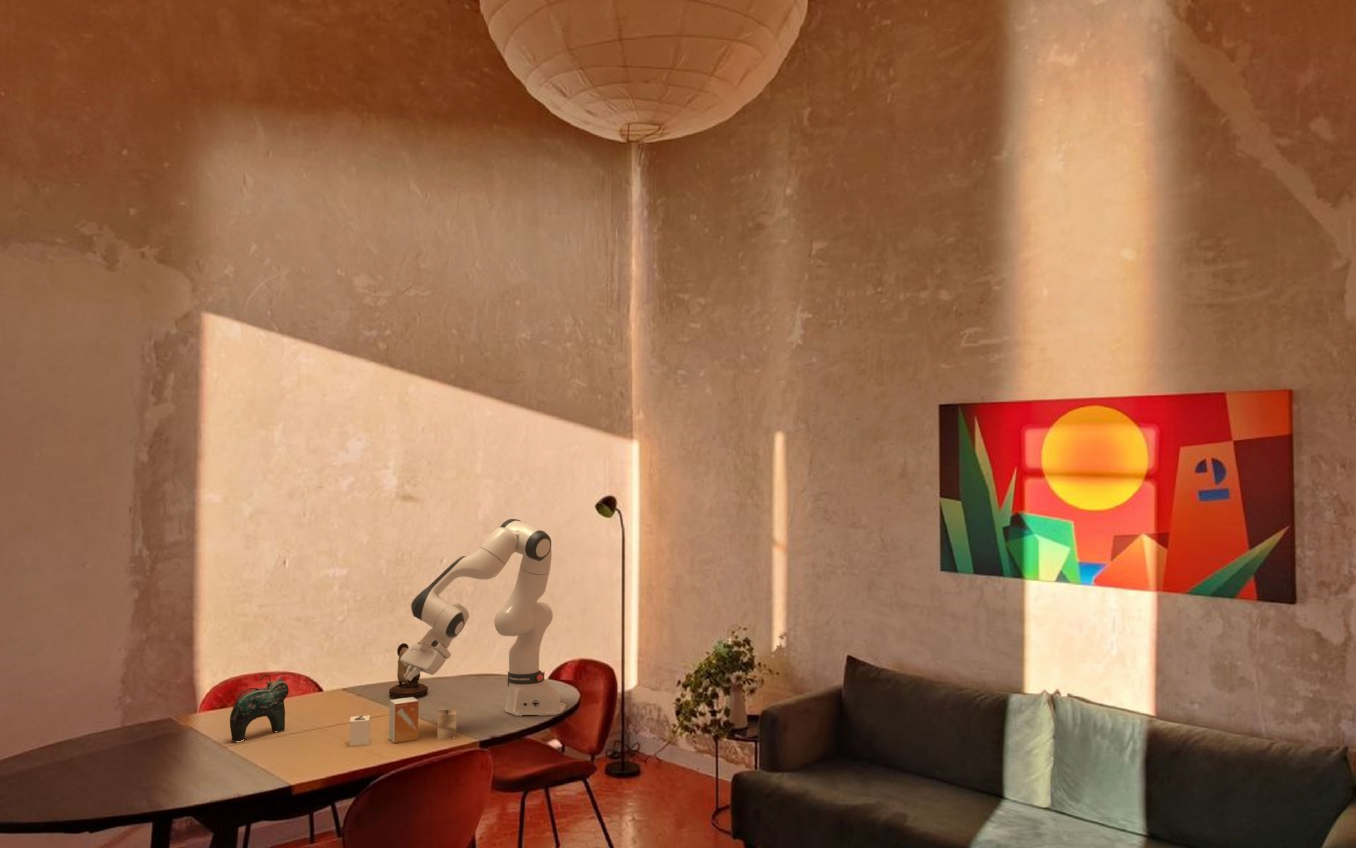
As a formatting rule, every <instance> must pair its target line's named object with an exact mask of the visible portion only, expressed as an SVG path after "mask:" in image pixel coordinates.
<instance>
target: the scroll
mask: <svg viewBox="0 0 1356 848" xmlns="http://www.w3.org/2000/svg"><path fill="white" fill-rule="evenodd" d="M409 648H410V647H409V644H407V643H406V642H402V643H400V644H399V645H398V647H397V650H396V651H397V652H396V653H397V656H398V660H397V672H396V673H397V675H396V676H397V680H398V683H399V684H396V685H393V686H391V688H389V690H388V694H389V696H390V697H392V696H395V697H404V698H409V697H414V696H419V695H423V694H424V695H427V694H428V691H429V687H428V686H427V685H425V684H423V683H419V681H420V678H421V672H420V673H419V674H418V675H416V676H415V677H413V679H412V680H411V681H409V680H407V679H405V678H404V675H405V674H406V672H407V669H408V666H405V665H404V664H403V663H402V662H401V661H400V659H401V656H402V655H403V654H404V653H405V652H406V651H407V650H408V649H409Z"/></svg>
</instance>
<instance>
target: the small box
mask: <svg viewBox="0 0 1356 848" xmlns="http://www.w3.org/2000/svg"><path fill="white" fill-rule="evenodd" d="M419 707H420V706H419V700H418V699H417V698H415V697H414V696H408V698H405V697H401V698H395V699H390V700H389V713H388V714H389V717H388V718H389V720H388V721H389V722H388V725H389V727H388V728H389V730H388V731H389V732H388V735H389V737H388V739H389V741H391V742H392V743H394V744H398V743H403V742H411V741H417V740H419Z"/></svg>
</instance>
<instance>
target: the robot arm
mask: <svg viewBox="0 0 1356 848" xmlns="http://www.w3.org/2000/svg"><path fill="white" fill-rule="evenodd" d="M515 553H517V554H520V555H522V558H521V559H520V560H521V562H520V565H519V569H518V574H517V578H516V582H515V585H514V587H513V591H512V592H511V595H510V597H509V598H508V600H507V601H506V603H505V604H504V605H503V607H502V608H501V609H500V610H499V611H497V613H496V614H495V617H494V619H493V621H494V623H493V624H494V627H495V630H496V631H497V633H498V634H500V636H503V637H516V640H515V641H514V643H513V645H512V646H511V647H510V649H509V652H508V671H507V682H506V683H507V688H508V689H507V698H506V701H505V707H504V712H506V713H509V714H511V715H513V716H514V715H515V716H514V717H523V716H522V715H538V716H557V715H559V714H562V713H563V712H564V711H565V710H566V708H567V707H566V704H565V703H564V702H561V699H560V694H559V692H558V690H557V689H556V688H555V687H553V686H552V685H551V684H549V683H548V682H546V681H545V675H546V674H545V671H541V670H540V650H541V645H542V641H543V638H544V635H545V633H546V630H547V629H548V627H549V626H550V625H551V623H552V622H553V619H554V618H553V617H554V615H553V610H552V607H551V606H550V605H549V604H548V603H547V602H543V601H539V599H541V597H542V596H543V595H544V594H545V592H546V589H547V585H548V580H549V575H550V570H551V566H552V565H551V564H552V539H551V537H550V535H549V534H548V533H546V532H545V531H544V530H541V529H539V528H538V527H536V526H535V525H533V524H531V523H526V522H523V521H522V520H520V519H516V518H509V519H507V520H505V521H504V522H502V524H501V525H500V526H499V527H498V528H496V529H494V531H492V532H491V533H490V534H489V535H488V536H487V537H486V538H485V539H484V541H483V542H482V543H481V544H480V546H479V547H478V548H477V550H475V551H474V552H473V553H471V554H470V555H467V556H464V555H463V556H459V558H457V559H456V560H455V561H454V562H452V563H451V564H450V565H449V566H447V568H446V569H445V570H444V571H443V572H442V573H441V574H440V575H439V576H438V577H437V578H436V579H434V581H432V582H431V583H430V584H429V585H428V586H427V587H426V588H425V589H423V590H422V591H421V592H420V593H418V594H416V596H415V597H414V599H412V602H411V604H410V606H411V607H410V608H411V614H412V616H413V617H414V618H416V619H418V620H420V621H421V622H424V623H425V624H427V625H428V626H430V627H431V629H429V630H428V631H427V633H426V634H424V636H423V638H422V639H420V641H419V642H416V643H413V644H412V645H411V646H410V647H409V649H408V650H407V651H406V652H405V653H404V654H403V655H402V656H401V659H400V661H401V662H402V663H403V664H404V665H405V666H408V669H407V672H406V674H405V675H404V678H405V679H407V680H409V681H411V680H412V679H413V677H415V676H416V675H418V674H419V673H420V674H421V672H422V673H426V674H428V675H431V676H433V675H435V674H436V673H438V671H440V669H441V668H442V667H443V665H444V664H445V662H446V660H448V659H449V658H451V655H452V653H451V652H450V651H449V649H448V648H449V647H450V646H451V642H452V641H453V640H455V639H456V638H457V637H458V635H459V634H460V633H461V632H462V630H463V629H464V627H465V626H466V624H467V622H468V620H469V618H470V614H469V611H468V610H467V609H466V608H465V606H463V605H462V604H459V603H456V602H455V603H453V604H451V603H449V602H448V601H447V600H445V599H443V598H442V597H440V594H441V593H443V591H444V590H445V589H446V588H447V587H448V586H449V585H451V584H452V583H453V582H454V580H456V579H458V578H460V577H461V578H462V577H466V578H467V577H468V578H471V579H477V580H491V579H493V578H495V577H497V576H498V575H499V574H500V572H501V571H502V570H503V569H504V567H505V566H506V564H507V563H508V562H509V560H510V558H511V556H512V555H513V554H515Z"/></svg>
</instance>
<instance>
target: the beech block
mask: <svg viewBox="0 0 1356 848" xmlns="http://www.w3.org/2000/svg"><path fill="white" fill-rule="evenodd" d="M436 711H437V712H436V714H437V715H436V716H437V717H436V720H437V721H436V723H437V724H436V725H437V726H436V727H437V728H436V729H437V730H436V731H437V732H436V733H437V740H447V739H448V738H450V739H454V738H453V737H456V738H457V710H456V709H455V708H454V709H444V710H436Z"/></svg>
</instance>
